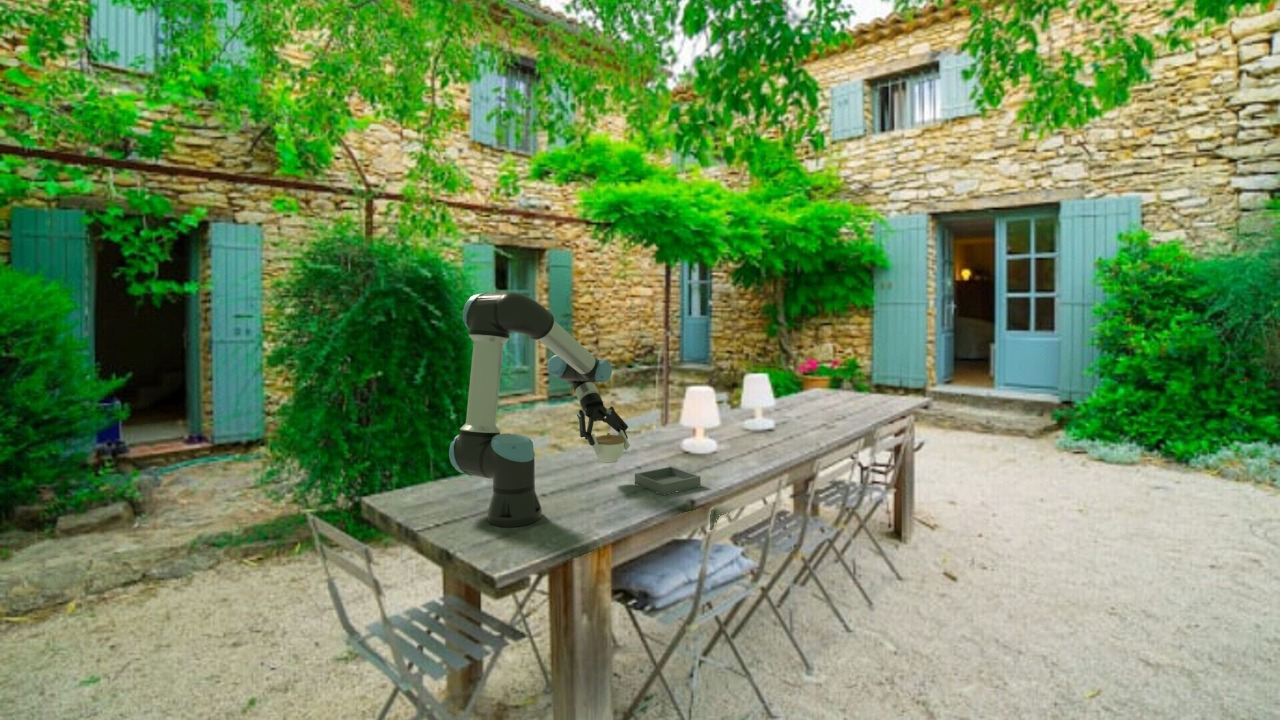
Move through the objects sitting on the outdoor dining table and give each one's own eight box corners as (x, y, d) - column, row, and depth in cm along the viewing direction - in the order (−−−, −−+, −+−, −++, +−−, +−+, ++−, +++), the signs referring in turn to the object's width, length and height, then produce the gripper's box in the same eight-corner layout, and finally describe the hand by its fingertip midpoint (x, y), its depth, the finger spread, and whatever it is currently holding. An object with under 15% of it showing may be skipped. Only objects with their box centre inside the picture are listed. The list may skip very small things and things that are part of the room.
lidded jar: (626, 457, 215) (626, 430, 214) (622, 465, 205) (622, 436, 204) (595, 456, 216) (595, 430, 216) (590, 464, 206) (590, 436, 205)
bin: (662, 495, 197) (662, 484, 197) (634, 483, 210) (634, 473, 209) (700, 486, 206) (700, 476, 206) (671, 476, 219) (671, 466, 218)
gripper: (613, 402, 228) (637, 451, 217) (556, 407, 215) (579, 461, 204) (621, 389, 223) (646, 439, 212) (563, 394, 210) (587, 448, 199)
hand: (613, 450), depth 208 cm, fingers closed on lidded jar, 11 cm apart
